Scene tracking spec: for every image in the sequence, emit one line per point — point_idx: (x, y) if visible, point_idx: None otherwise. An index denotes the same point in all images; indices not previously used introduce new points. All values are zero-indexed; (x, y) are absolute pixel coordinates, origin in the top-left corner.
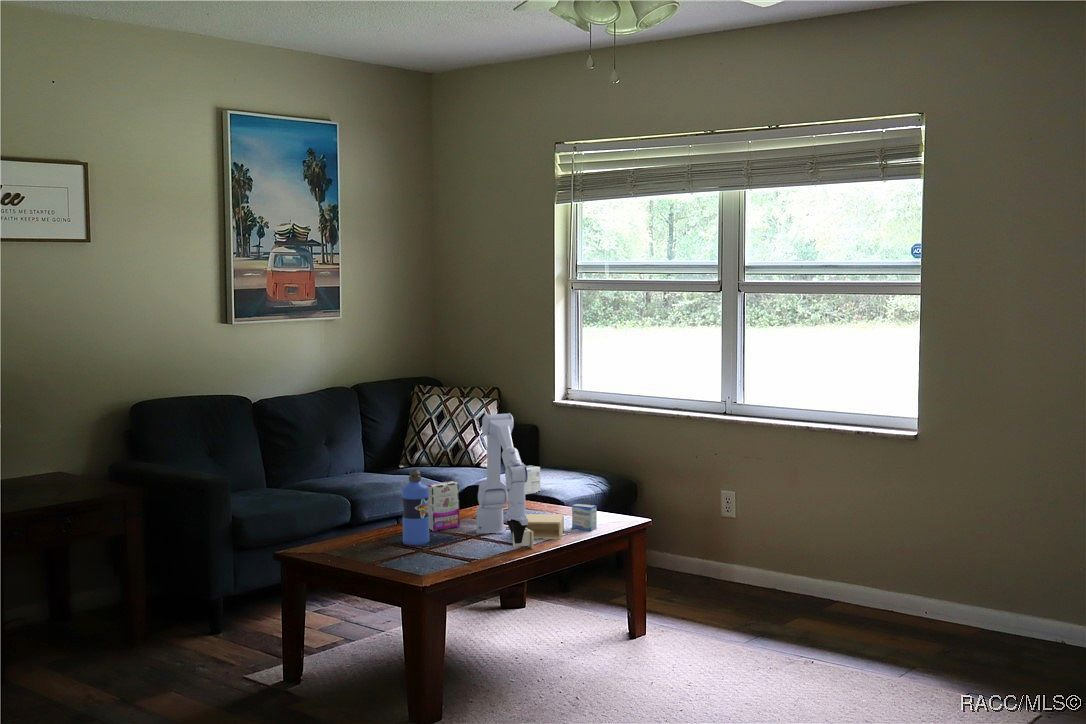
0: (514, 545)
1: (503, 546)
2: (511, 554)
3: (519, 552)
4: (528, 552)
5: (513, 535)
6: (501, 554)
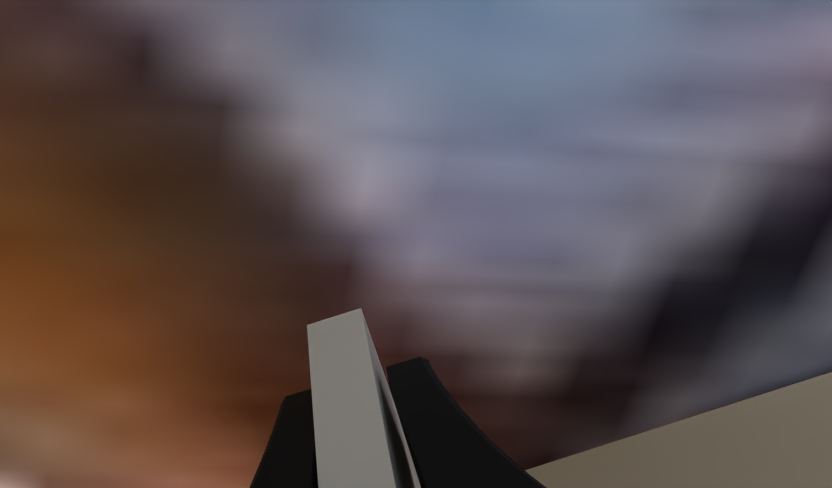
0: (310, 349)
1: (646, 138)
2: (30, 236)
3: (174, 364)
4: (163, 480)
5: (341, 470)
6: (31, 50)
